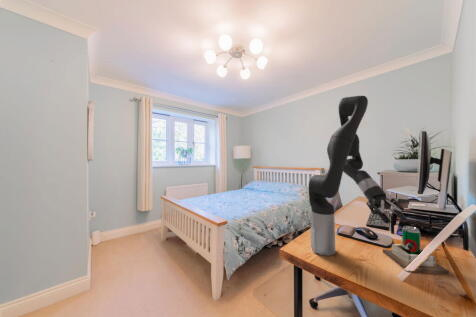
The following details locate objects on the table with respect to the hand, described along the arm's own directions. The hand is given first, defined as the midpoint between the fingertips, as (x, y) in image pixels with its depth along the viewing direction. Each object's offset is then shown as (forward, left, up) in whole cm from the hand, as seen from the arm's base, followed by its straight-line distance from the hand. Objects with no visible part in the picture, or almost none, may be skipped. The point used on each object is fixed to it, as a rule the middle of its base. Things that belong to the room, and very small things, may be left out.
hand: (397, 222), depth 73 cm
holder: (+2, -5, -14) cm, 15 cm away
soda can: (+2, -5, -13) cm, 14 cm away
